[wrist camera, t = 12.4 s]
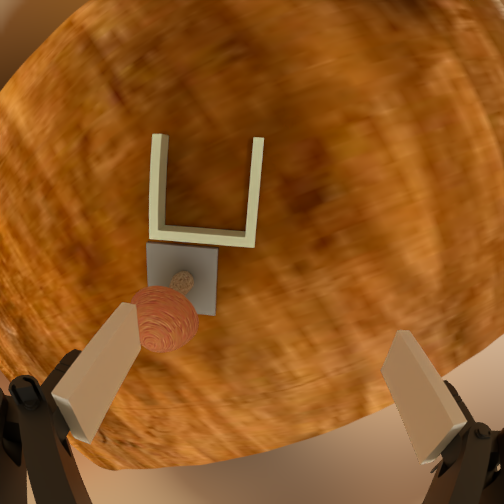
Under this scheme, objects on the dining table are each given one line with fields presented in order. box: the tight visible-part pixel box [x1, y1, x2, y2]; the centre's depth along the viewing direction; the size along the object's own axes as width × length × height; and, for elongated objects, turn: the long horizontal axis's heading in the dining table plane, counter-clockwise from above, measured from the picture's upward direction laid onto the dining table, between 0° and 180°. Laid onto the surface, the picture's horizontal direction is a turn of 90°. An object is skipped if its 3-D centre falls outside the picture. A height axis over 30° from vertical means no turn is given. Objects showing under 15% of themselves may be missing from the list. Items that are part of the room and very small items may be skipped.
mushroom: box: [131, 270, 199, 352], centre depth 33 cm, size 8×8×15 cm
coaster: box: [146, 241, 219, 316], centre depth 40 cm, size 10×10×1 cm
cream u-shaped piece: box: [149, 134, 264, 248], centre depth 35 cm, size 13×13×3 cm
